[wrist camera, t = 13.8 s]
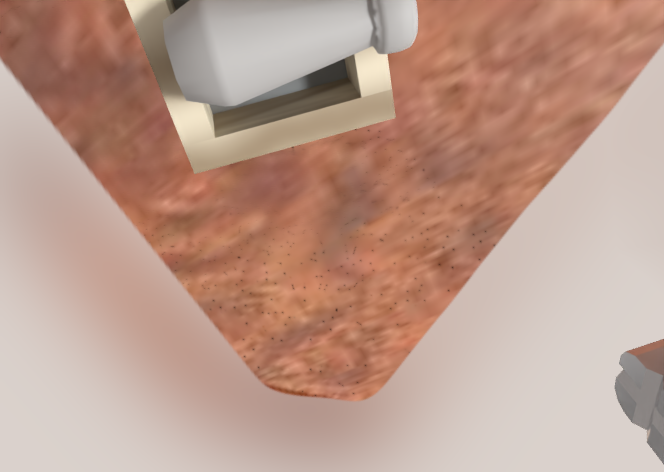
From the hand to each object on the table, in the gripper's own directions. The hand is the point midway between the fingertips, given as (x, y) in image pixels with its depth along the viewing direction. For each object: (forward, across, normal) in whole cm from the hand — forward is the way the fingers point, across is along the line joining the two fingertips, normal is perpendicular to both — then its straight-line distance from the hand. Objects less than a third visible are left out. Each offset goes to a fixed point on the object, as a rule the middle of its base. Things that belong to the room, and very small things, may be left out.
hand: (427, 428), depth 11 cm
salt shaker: (+24, +5, -1) cm, 25 cm away
